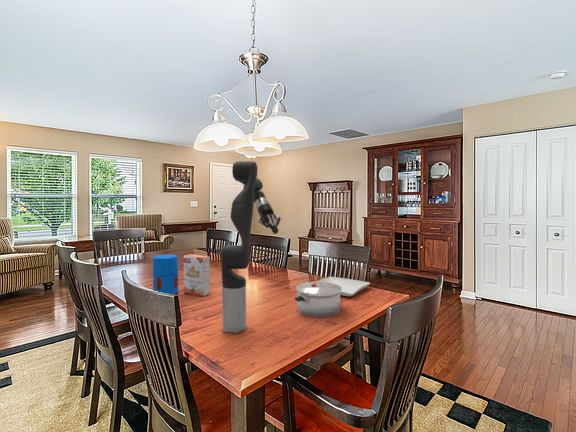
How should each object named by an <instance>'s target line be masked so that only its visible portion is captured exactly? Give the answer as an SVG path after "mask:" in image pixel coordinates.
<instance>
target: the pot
mask: <svg viewBox="0 0 576 432" xmlns="http://www.w3.org/2000/svg"><path fill="white" fill-rule="evenodd" d="M296 295H297V296H295V297H294V300H295V301H296V302H297V303H296V304H297V305H296V308H297V312H298V313H299V314H302V315H304V316H306V317H313V318H329V317H334V316H336V315H338V314H339V313H340V312H341V295H340V294H338V295H335V296H330V297H312V296H306V295H302V294H300V293H298V292H297V291H296Z"/></svg>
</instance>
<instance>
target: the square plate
mask: <svg viewBox="0 0 576 432" xmlns="http://www.w3.org/2000/svg"><path fill="white" fill-rule="evenodd" d="M316 282H328V283H333V284H336V285H339V286H340V287H341V289H342V291H341V293H340V296H341V295H342V297H352V296H354V295H356V294H357V293H359V292H360V291H362V290H364V289H365V288H367V287H368V286H369V285H370V284H371V282H369V281H362V280H356V279H350V278H346V277H345V278H344V277H336V276H327V277H326V278H325V277H324V278H322V279H319V280H318V281H316Z"/></svg>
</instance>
